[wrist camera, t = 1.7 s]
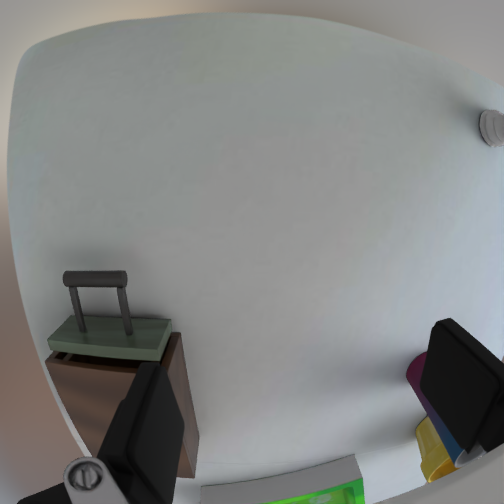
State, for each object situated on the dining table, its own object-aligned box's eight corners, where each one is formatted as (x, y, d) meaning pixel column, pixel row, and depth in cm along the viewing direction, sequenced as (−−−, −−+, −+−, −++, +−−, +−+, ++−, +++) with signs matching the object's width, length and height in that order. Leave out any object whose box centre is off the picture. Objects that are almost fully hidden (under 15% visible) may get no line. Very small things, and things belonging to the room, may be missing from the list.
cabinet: (74, 327, 28) (44, 361, 22) (180, 332, 29) (166, 375, 22) (112, 427, 33) (97, 464, 26) (199, 436, 33) (194, 478, 26)
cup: (450, 345, 31) (516, 414, 17) (428, 386, 33) (481, 459, 18) (414, 344, 31) (482, 426, 16) (391, 388, 32) (442, 474, 18)
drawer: (59, 261, 25) (29, 279, 20) (163, 259, 26) (145, 280, 21) (107, 417, 31) (94, 446, 26) (191, 426, 32) (185, 459, 26)
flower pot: (445, 433, 37) (468, 468, 28) (397, 450, 37) (417, 492, 27) (466, 391, 34) (496, 428, 25) (415, 409, 34) (443, 455, 25)
